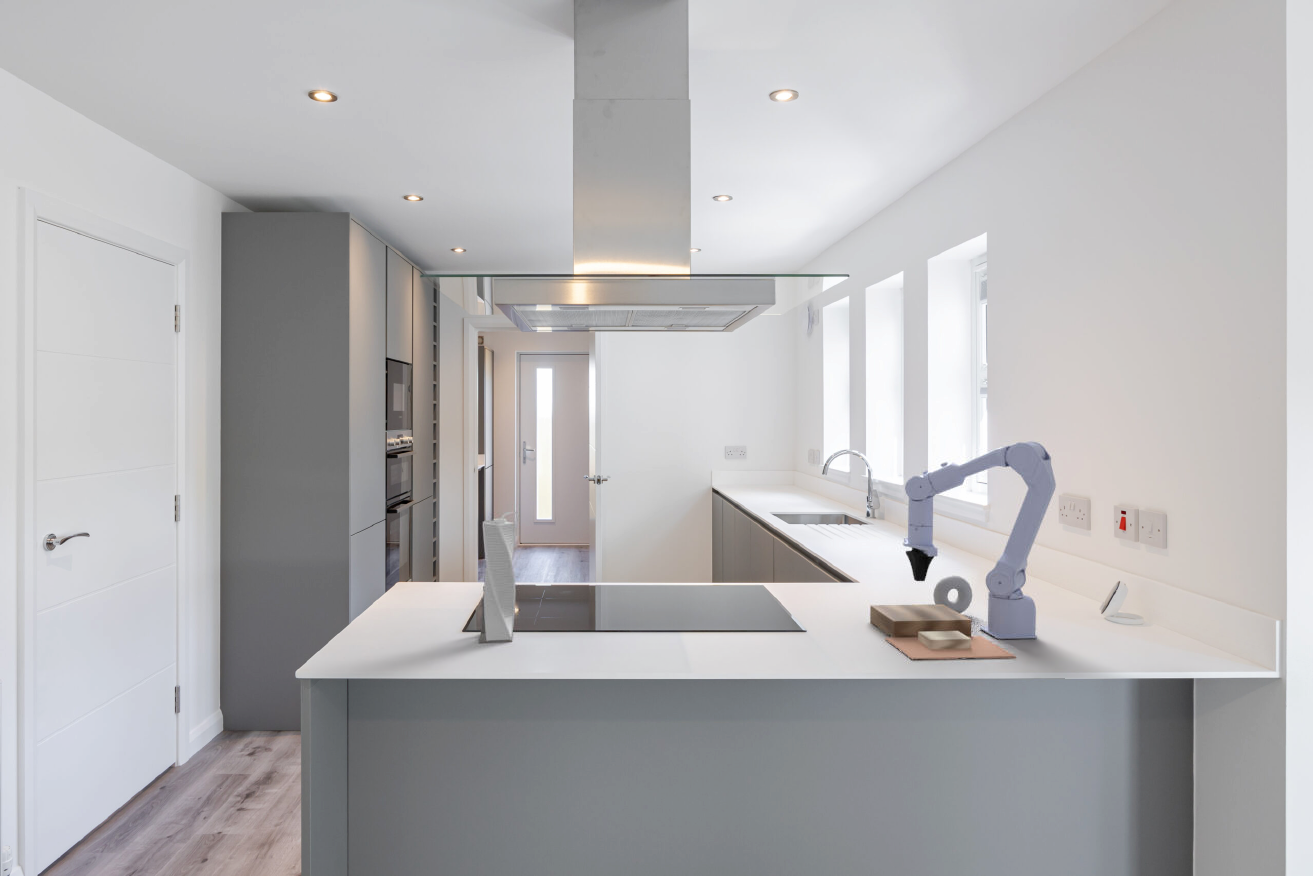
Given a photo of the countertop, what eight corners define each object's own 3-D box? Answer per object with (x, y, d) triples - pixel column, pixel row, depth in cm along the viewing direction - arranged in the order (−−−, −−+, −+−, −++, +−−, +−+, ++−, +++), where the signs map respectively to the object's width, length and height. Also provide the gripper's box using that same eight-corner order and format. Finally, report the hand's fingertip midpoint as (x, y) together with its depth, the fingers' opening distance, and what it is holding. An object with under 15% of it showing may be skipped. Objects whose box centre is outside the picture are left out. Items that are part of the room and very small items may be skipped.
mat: (980, 637, 168) (980, 636, 168) (1015, 657, 154) (1015, 656, 154) (885, 639, 166) (885, 637, 166) (911, 660, 152) (911, 658, 152)
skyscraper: (519, 632, 170) (519, 509, 170) (518, 643, 162) (518, 513, 162) (480, 633, 169) (480, 509, 168) (478, 644, 161) (478, 514, 160)
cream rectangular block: (971, 639, 159) (971, 648, 159) (957, 631, 165) (957, 640, 165) (930, 639, 158) (930, 649, 158) (918, 631, 164) (918, 640, 164)
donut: (937, 617, 185) (938, 577, 185) (930, 614, 189) (930, 574, 188) (974, 616, 187) (975, 576, 186) (967, 612, 190) (967, 573, 190)
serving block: (942, 620, 182) (942, 604, 182) (971, 637, 168) (971, 619, 168) (870, 621, 181) (870, 605, 181) (893, 639, 167) (893, 621, 167)
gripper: (892, 521, 190) (891, 574, 191) (917, 529, 176) (916, 587, 176) (919, 520, 191) (918, 574, 191) (946, 529, 176) (945, 587, 177)
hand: (919, 580), depth 184 cm, fingers closed
